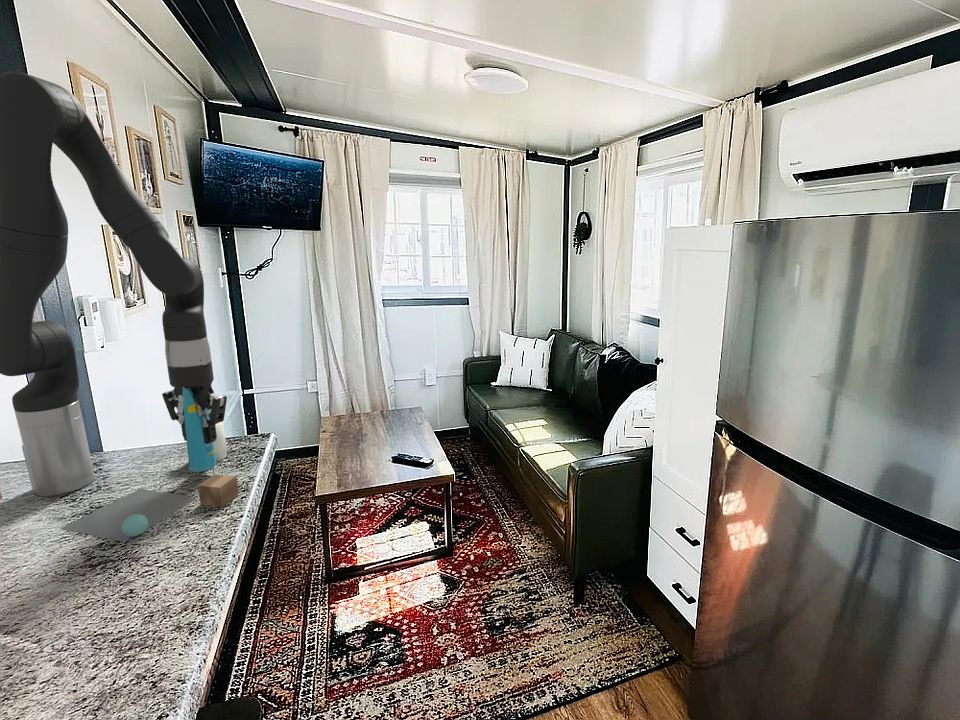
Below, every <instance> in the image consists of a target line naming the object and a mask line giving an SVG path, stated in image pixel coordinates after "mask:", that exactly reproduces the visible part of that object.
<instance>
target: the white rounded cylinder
mask: <svg viewBox="0 0 960 720" xmlns="http://www.w3.org/2000/svg"><path fill="white" fill-rule="evenodd" d="M215 426H216V434H217V438H216V440H215V441H214V442H213V444H214V450H215V457H216V463H217V462H220V461H222V460H224V459H226V458H227V457H228V449H227V441H226V435H225V433H226V432H225V427H224V426H225V425H224V421H222V422H219V423H217V424H216V425H215Z"/></svg>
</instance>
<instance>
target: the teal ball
mask: <svg viewBox="0 0 960 720" xmlns="http://www.w3.org/2000/svg"><path fill="white" fill-rule="evenodd" d="M147 527H148V520H147V518H146V517H145V516H144V515H141V514H134V515H131V516H129V517H127V518H126V519H125V520H124V522H123V524H122V531H123V533H124V534H125V535H127V536H131V537H133V538H135V537H137V536H140V535H142V534H143V533H145V532H146V530H148V529H147Z"/></svg>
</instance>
